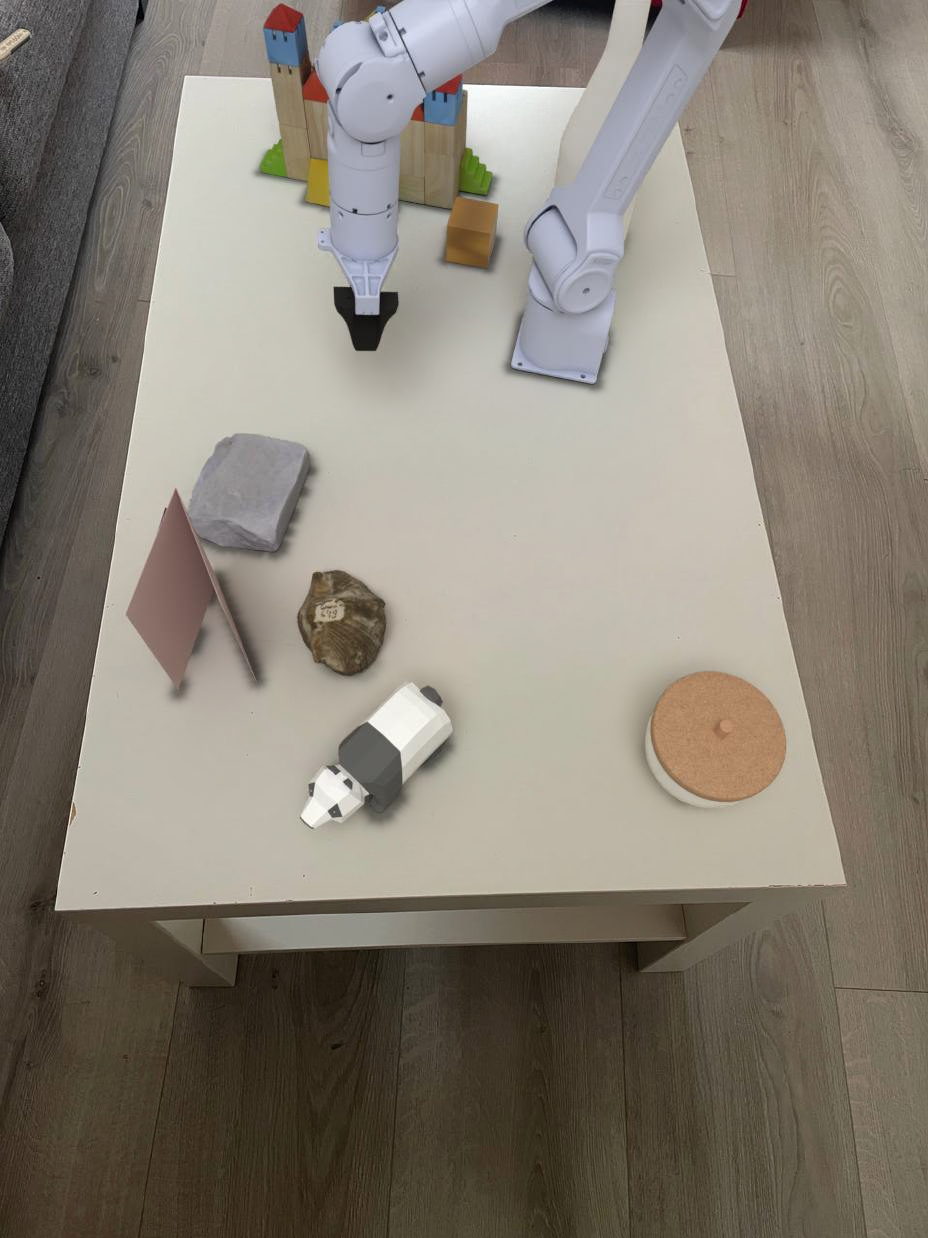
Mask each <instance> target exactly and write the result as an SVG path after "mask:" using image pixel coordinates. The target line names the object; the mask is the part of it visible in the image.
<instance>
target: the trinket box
mask: <svg viewBox="0 0 928 1238" xmlns="http://www.w3.org/2000/svg"><path fill="white" fill-rule="evenodd" d="M644 736H645V737H644V750H645V757H646V762H647V765H648V767H649V769H650V771H651V773H652V775H653V777H654V778H655V780H656V781H657V783H658V784H659V785H660V786H661V787H662V788H663V789H664V790H665V791H666V792H667V793H668V794H669V795H670V796H672V797H674V798H675V799H677V800H678V801H680V802H682V803H684V804H686V805H689V806H693V807H696V808H697V807H698V808H703V809H721V808H727V807H731V806H734V805H737V804H740V803H742V802H745V801H746V800H748V799H751V798H752V797H755V796H756V795H758V794H760V793H761V792H763V791H764V790H765V789H767V788H768V787H769V786H771V784H772V783H773V782H774V781H775V780H776V778H777V777H778V776H779V773H780V772H781V771H782V768H783V765H784V763H785V760H786V754H787V736H786V731H785V727H784V724H783V721H782V719H781V717H780V714H779V711H778V710H777V709H776V707H775V706H774V704H773V703H772V701H770V699H769V698H768V697H767V696H766V695H765V694H764V693H763V692H762V691H761V690H760V689H758V688H757V687H756V686H755V685H753V684H752V683H750V682H748V681H747V680H745V679H743V678H741V677H738V676H736V675H733V674H730V673H727V672H721V671H714V670H713V671H708V670H707V671H699V672H698V671H697V672H694V673H690V674H686V675H685V676H683V677H681V678H678V679H677V680H676V681H674V682H673V683H672V684H670V685H669V686H668V687H667V688H666V689H665V690H664V691H663V693H662V694H661V695H660V697H659V699H658V700H657V701H656V704H655V706H654V709H653V711H652V712H651V715H650V717H649V719H648V722H647V725H646V730H645V735H644Z"/></svg>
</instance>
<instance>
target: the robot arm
mask: <svg viewBox="0 0 928 1238" xmlns="http://www.w3.org/2000/svg"><path fill="white" fill-rule="evenodd" d="M552 1H553V0H402V1H401V2H398V3H397V4H395V5H394V6H392V7H391V8H389V9H388V10H386V12H385V13H383V14H382V15H381V13H380V12H378V13H377V14H375V15H373V16H372V17H370V18H369V23H368V22H365V21H364V20H360V21H356V20H352V21H348V22H343V23H344V24H342V25H340V26H339V27H337V28H336V29H334V30H333V31H332V32H331V33H330V32H329V33H328V35H327V37H326V38H325V39H324V44H323V45H321V47H320V51H319V53H318V57H315V59H314V62H313V64H314V63H315V69H316V72H317V75H318V77H319V80H320V82H321V84H322V85H323V87H324V88H325V89H326V92H327V94H328V97H329V100H328V101H327V108H328V135H327V149H328V174H329V196H330V207H329V216H330V219H329V221H330V228H320V229H319V230H317V248H318V249H319V251H321V252H329V253H331V254H332V256H333V257H334V259H335V261H336V262H337V265H338V266H339V268H340V271H341V272H342V273H343V275H344V277H345V279H346V280H347V282H348V284H349V286H333V287H332V288H333V306H334V308H335V310H336V312H337V313H338V315H340V317H341V318H342V320H343V321H344V323H345V324H346V326H347V329H348V333H349V336H350V340H351V343H352V344H351V345H352V346H353V349H354V351H356V352H376V351H377V350H378V348H379V345H380V343H381V339H382V336H383V333H384V330H385V327H386V326H387V324H388V322H389V321H390V320H391V318H392V317H393V316H394V315H396V314H397V312H398V309H399V305H400V304H399V292H398V291H382V288H383V287H384V284H385V281H386V279H387V277H388V275H389V273H390V270H391V269H392V267H393V264H394V261H395V260H396V257H397V255H398V253H399V250H400V249H399V248H400V237H399V234H398V223H399V222H398V221H399V199H398V198H399V172H400V146H401V143H400V133H401V132H402V131H403V129H404V128H405V127H406V126H407V124H408V123H409V121H410V119H411V117H412V114H413V112H414V110H415V108H416V107H417V106H418V105H420V104H421V103H423V99H424V98H425V97H426V93H427V94H428V93H430V92H431V91H433V90H435V89H436V88H438V87H439V86H441V85H443V84H444V83H446V82H448V81H449V80H451V79H453V78H454V77H456V76H457V75H459V74H461V75H462V74H463V73H464V72H466V71H467V70H469V69H470V68H472V67H474V66H475V65H477V64H479V63H480V62H482V61H484V60H485V59H487V58H489V57H491V56H492V55H494V54H495V52H496V50H497V48H498V46H499V42H500V40H501V38H502V34H503V32H504V29H505V27H506V25H508V24H510V23H512V22H514V21H516V20H518V19H519V18H521V17H524V16H526V15H527V14H530V13H531V12H533V11H535V10H537V9H539V8H540V7H543V6H545V5H547V4H548V3H550V2H552ZM661 2H662V6H661V9H660V11H659V13H658V15H657V16H656V19H655V21H654V22H653V25H652V27H651V29H650V31H649V33H648V35H647V37H646V39H645V41H644V42H643V44H642V49H641V51H640V52H639V54H638V56H637V58H636V60H635V62H634V64H633V66H632V68H631V70H630V72H629V74H628V76H627V78H626V80H625V82H624V84H623V86H622V88H621V90H620V92H619V94H618V96H617V98H616V100H615V102H614V104H613V106H612V108H611V110H610V112H609V114H608V116H607V118H606V120H605V121H604V123H603V125H602V127H601V129H600V131H599V133H598V135H597V137H596V139H595V141H594V143H593V145H592V147H591V149H590V151H589V153H588V155H587V157H586V159H585V161H584V163H583V165H582V167H581V169H580V171H579V173H578V175H577V177H576V179H575V181H574V183H573V184H572V185H563V186H557V187H555V188H554V187H553V188H552V190H551V192H550V194H549V196H548V198H547V199H546V201H545V202H544V203H543V205H542V206H540V208H538V210H537V211H535V212H534V213H533V215H531V217H530V218H529V219H528V221H527V223H526V225H525V227H524V230H523V231H524V232H523V242H524V246H525V247H526V249H527V250H528V252H529V253H530V254H531V256H532V257H531V264H530V266H531V270H530V272H529V276H528V282H527V290H526V298H525V303H524V304H525V305H524V311H523V315H522V318H521V322H520V325H519V331H518V334H517V338H516V341H515V346H514V350H513V354H512V357H511V361H510V367H511V368H512V369H514V370H519V371H524V372H528V373H534V374H539V375H545V376H549V377H554V378H555V377H556V378H560V379H565V380H570V381H574V382H575V381H576V382H581V383H584V384H590V385H593V384H596V383H597V380H598V379H597V378H598V375H599V370H600V366H601V363H602V360H603V359H602V358H603V355H604V354H606V353H607V348H608V346H609V345H608V344H609V340H610V336H609V332H610V327H611V323H612V320H613V315H614V310H615V304H616V299H617V295H618V290H617V289H615V288H614V285H615V282H616V274H617V269H618V268H619V265H620V262H621V261H622V260H623V258H624V256H625V241H624V232H623V215H624V213H625V211H626V210H627V208H628V206H629V204H630V203H631V201H632V199H633V198H634V196H635V194H636V192H637V191H638V192H639V189H640V187H641V185H642V184H643V181H644V180H645V178H646V177H647V175H648V174H649V172H650V170H651V168H652V166H653V165H654V163H655V162H656V160H657V158H658V156H659V154H660V153H661V151H662V149H663V147H664V145H665V144H666V142H667V140H668V138H669V137H670V135H671V133H672V132H673V130H674V128H675V126H676V125H677V123H678V121H680V119H681V116H682V114H683V113H684V111H685V109H686V107H687V106H688V104H689V103H690V101H691V99H692V97H693V95H694V93H695V92H696V90H697V88H698V87H699V85H700V83H701V81H702V80H703V78H704V77H705V74H706V73H707V71H708V69H709V68H710V66H711V64H712V62H713V61H714V59H715V58H716V55H717V54H718V52H719V51H720V48H721V47H722V45H723V43H724V41H725V39H726V38H727V36H728V34H729V33H730V31H731V30H732V29H733V26H734V24H735V22H736V20H737V18H738V16H739V14H740V11H741V7H742V2H743V0H661ZM388 11H389V12H390V15H391V17H392V19H391V17H390V15H389V13H388ZM392 20H393V21H392ZM393 22H394V23H393ZM394 24H395V25H394ZM395 26H396V27H395ZM419 79H420V80H419ZM420 81H421V82H420ZM421 83H422V84H421ZM422 85H423V86H422ZM423 87H424V89H425V91H426V93H425V91H424V89H423ZM638 192H637V193H638Z"/></svg>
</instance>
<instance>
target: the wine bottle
mask: <svg viewBox="0 0 928 1238" xmlns="http://www.w3.org/2000/svg"><path fill="white" fill-rule="evenodd" d="M651 4H652V0H615V3H614V8H613V13H612V17H611V21H610V27H609V32H608V36H607V37H608V38H607V42H606V45H605V48H604V51H603V53H602V55H601V58H600V60H599V61H598V64H597V66H596V67H595V69H594V72H593V73H592V75H591V77H590V79H589V81H588V83H587V84H586V87H585V88H584V91H583V93H582V95H581V97H580V98H579V100H578V102H577V104H576V106H575V108H574V109H573V111H572V113H571V115H570V117H569V119H568V121H567V123H566V125H565V128H564V130H563V131H562V135H561V137H560V143H559V149H558V156H557V163H556V168H555V169H556V170H555V176H554V181H553V188H555V187H557V186H563V185H572V184H573V183H574V181H575V179H576V177H577V175H578V173H579V171H580V169H581V167H582V165H583V163H584V161H585V159H586V157H587V155H588V153H589V151H590V149H591V147H592V145H593V143H594V141H595V139H596V137H597V135H598V133H599V131H600V129H601V127H602V125H603V123H604V121H605V120H606V118H607V116H608V114H609V112H610V110H611V108H612V106H613V104H614V102H615V100H616V98H617V96H618V94H619V92H620V90H621V88H622V86H623V84H624V82H625V80H626V78H627V76H628V74H629V72H630V70H631V68H632V66H633V64H634V62H635V60H636V58H637V56H638V54H639V52H640V51H641V49H642V47H643V45H644V38H645V33H646V28H647V23H648V18H649V12H650V8H651ZM638 193H639V190H638V191H637V192H636V194H635V196H634V198H633V199H632V201H631V203H630V204H629V206H628V208H627V210H626V211H625V213H624V215H623V232H624V242H625V241H626V239H627V237H628V233H629V227H630V223H631V220H632V215H633V211H634V208H635V203H636V200H637V196H638Z"/></svg>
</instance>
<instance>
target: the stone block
mask: <svg viewBox="0 0 928 1238" xmlns="http://www.w3.org/2000/svg"><path fill="white" fill-rule="evenodd" d="M310 467H311V456H310V452H309V450H308V448H307V447H306V446H305V445H303V444H302V443H299V442H296V441H290V440H287V439H286V440H285V439H280V438H275V437H271V436H266V435H262V434H257V433H247V432H243V433H242V432H237V433H236V432H235V433H234V434H232V435H231V436H230V437H229V436H226V437H224V438H222V439H221V440H220V441H218V442H217V443H216V444H215V446H214V450H213V453H212V455H210V456H209V457H208V458H207V460H206V461H205V463H204V464H203V467H202V468H201V470H200V473H199V475H198V479H197V480H196V482H195V483H194V485H193V488H192V491H191V497H190V499H189V504H188V507H187V510H186V511H187V513H188V515H189V517H190V520H191V522H192V524H193V526H194V529H195V531H196V533H197V535H198V537H200V538H202V539H204V540H208V542H211V543H213V544H215V545H217V546H219V547H223V548H241V549H248V550H250V551H251V550H253V551H255V550H256V551H264V552H265V551H266V552H272V553H273V552H276V551H278V550H279V548H280V547H281V545H282V542H283V540H284V537H285V534H286V531H287V529H288V526H289V524H290V521H291V518H292V516H293V513H294V510H295V507H296V505H297V503H298V500H299V497H300V494H301V492H302V488H303V487H304V483H305V481H306V478H307V476H308V473H309V471H310Z"/></svg>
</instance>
